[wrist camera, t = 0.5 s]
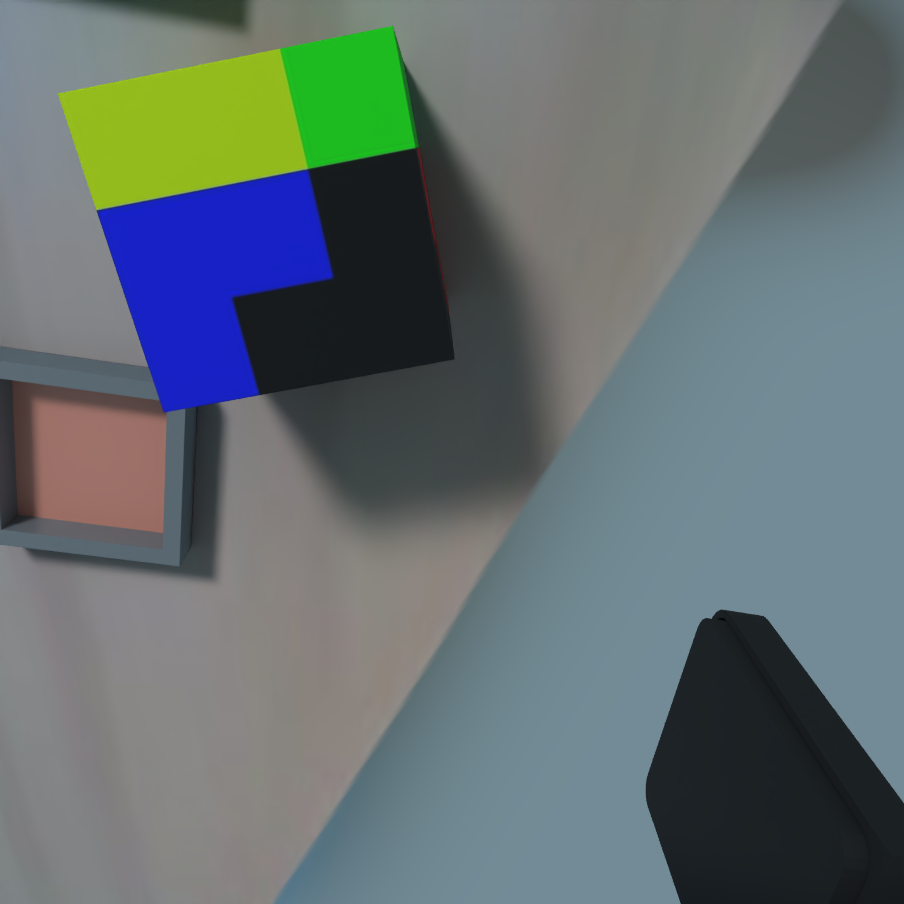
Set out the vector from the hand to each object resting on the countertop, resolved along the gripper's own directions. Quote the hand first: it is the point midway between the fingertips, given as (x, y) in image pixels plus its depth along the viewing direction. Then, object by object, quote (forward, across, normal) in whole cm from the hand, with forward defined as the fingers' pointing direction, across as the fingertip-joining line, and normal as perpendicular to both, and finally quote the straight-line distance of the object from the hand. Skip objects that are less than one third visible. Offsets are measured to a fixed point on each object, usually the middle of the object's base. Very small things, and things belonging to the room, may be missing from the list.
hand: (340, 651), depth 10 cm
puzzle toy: (+27, +4, -3) cm, 28 cm away
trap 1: (+27, +13, +10) cm, 31 cm away
